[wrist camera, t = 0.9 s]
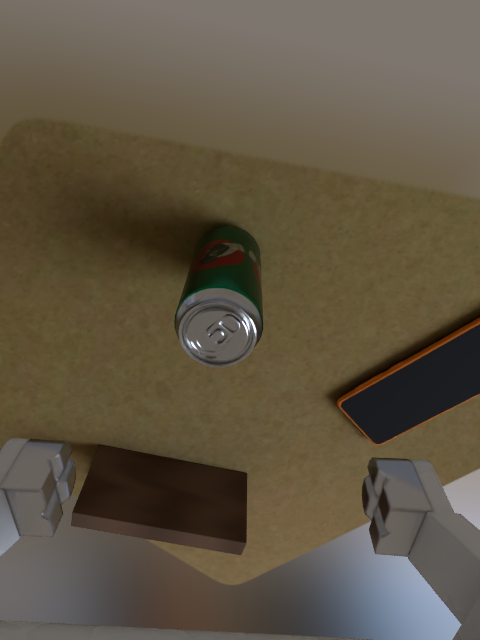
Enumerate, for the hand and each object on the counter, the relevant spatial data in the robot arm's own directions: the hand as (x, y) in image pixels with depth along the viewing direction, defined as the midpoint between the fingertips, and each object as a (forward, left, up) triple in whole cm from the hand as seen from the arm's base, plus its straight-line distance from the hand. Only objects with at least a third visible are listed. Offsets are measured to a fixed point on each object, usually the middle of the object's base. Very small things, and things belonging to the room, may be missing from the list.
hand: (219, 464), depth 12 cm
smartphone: (+23, -1, -24) cm, 33 cm away
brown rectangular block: (+12, -28, -24) cm, 38 cm away
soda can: (+1, -3, -24) cm, 24 cm away
